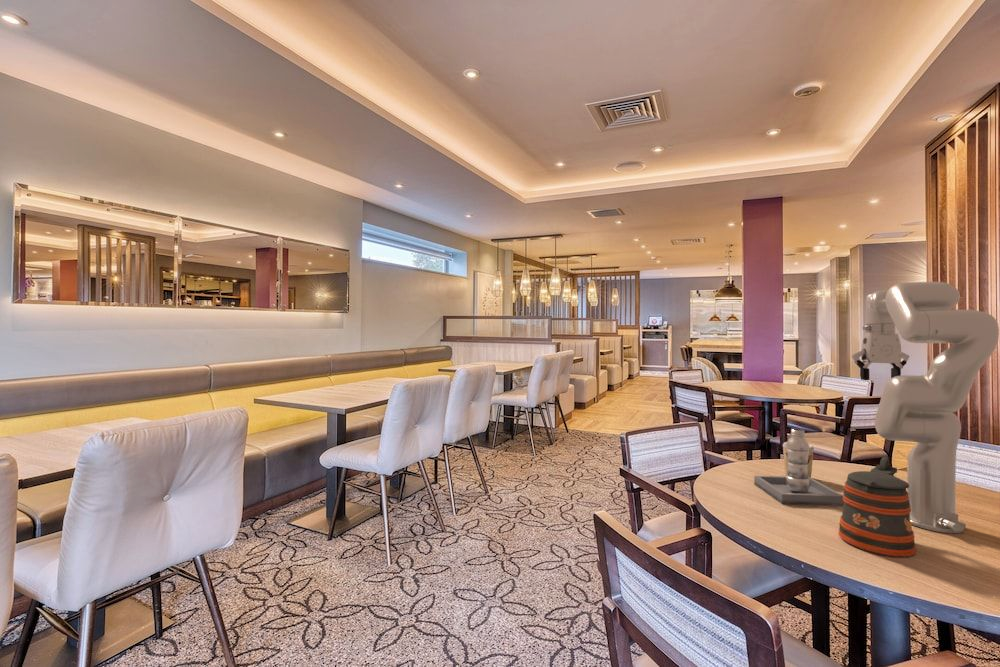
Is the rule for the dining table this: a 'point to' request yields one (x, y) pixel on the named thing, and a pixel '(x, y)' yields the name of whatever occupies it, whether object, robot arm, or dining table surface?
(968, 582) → the dining table surface
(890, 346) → the robot arm
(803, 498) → the tray
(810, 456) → the coffee cup
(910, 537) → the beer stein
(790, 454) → the plastic bottle
